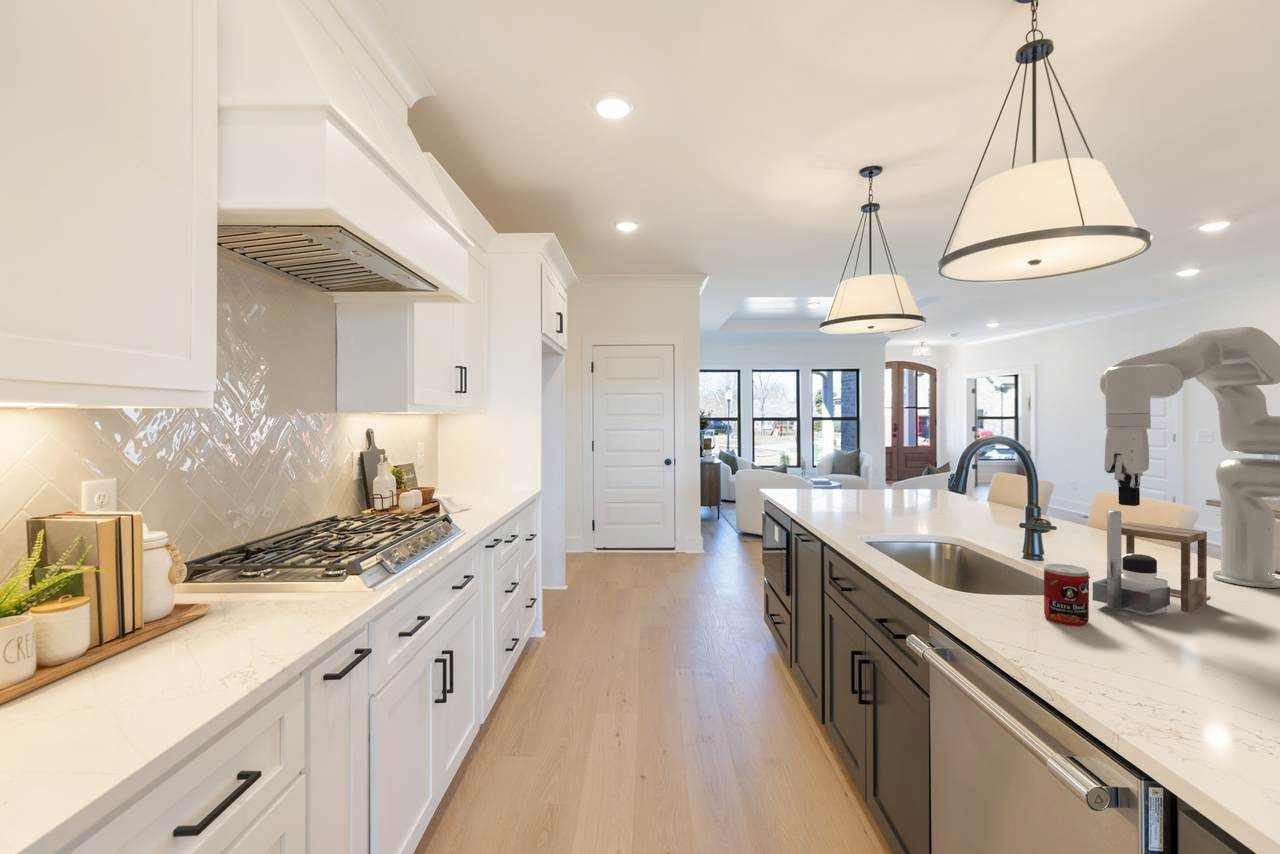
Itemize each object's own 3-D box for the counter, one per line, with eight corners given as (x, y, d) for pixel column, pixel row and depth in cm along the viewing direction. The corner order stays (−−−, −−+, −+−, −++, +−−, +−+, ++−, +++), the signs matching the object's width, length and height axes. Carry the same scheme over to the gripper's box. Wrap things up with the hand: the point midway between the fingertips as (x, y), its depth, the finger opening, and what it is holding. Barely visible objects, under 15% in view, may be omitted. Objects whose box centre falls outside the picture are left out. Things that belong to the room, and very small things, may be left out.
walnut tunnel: (1128, 588, 143) (1128, 522, 143) (1206, 603, 131) (1206, 531, 131) (1108, 594, 138) (1108, 526, 138) (1188, 612, 126) (1188, 536, 125)
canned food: (1047, 623, 120) (1046, 570, 120) (1041, 611, 127) (1041, 562, 127) (1093, 629, 116) (1093, 575, 116) (1084, 617, 123) (1084, 565, 123)
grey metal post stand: (1113, 592, 135) (1113, 503, 134) (1169, 604, 126) (1170, 509, 126) (1083, 603, 128) (1083, 508, 127) (1141, 616, 119) (1141, 515, 119)
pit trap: (1146, 585, 146) (1146, 583, 146) (1210, 597, 135) (1210, 595, 135) (1135, 588, 143) (1135, 586, 143) (1200, 601, 132) (1200, 599, 132)
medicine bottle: (1168, 612, 126) (1168, 557, 125) (1145, 616, 124) (1145, 560, 123) (1132, 602, 132) (1132, 550, 132) (1109, 605, 130) (1109, 553, 130)
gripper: (1122, 420, 134) (1123, 499, 134) (1091, 423, 126) (1092, 506, 127) (1163, 420, 127) (1165, 503, 127) (1133, 423, 120) (1135, 511, 120)
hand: (1129, 504), depth 127 cm, fingers closed
